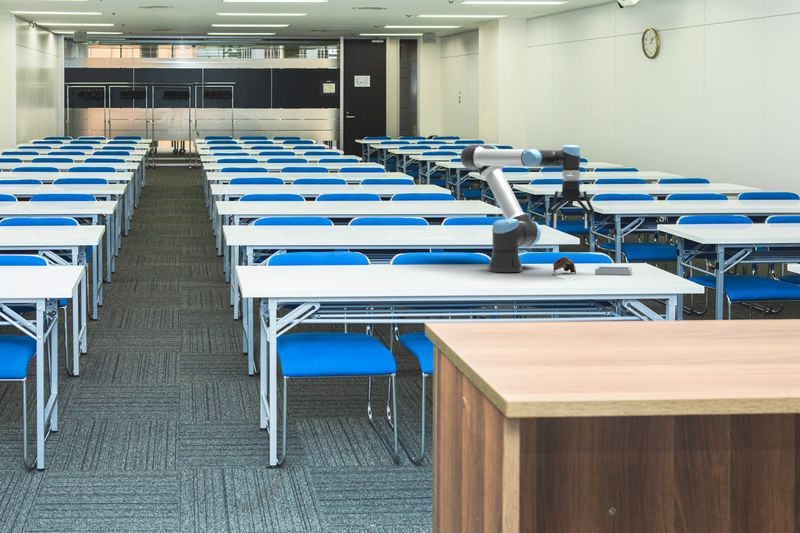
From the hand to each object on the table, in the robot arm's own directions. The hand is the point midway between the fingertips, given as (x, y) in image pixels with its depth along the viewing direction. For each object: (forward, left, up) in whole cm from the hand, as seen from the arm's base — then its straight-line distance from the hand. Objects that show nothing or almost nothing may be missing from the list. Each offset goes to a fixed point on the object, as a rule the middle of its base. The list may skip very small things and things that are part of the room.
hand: (570, 228), depth 477 cm
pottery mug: (-1, +1, -21) cm, 21 cm away
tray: (+19, +4, -20) cm, 28 cm away
